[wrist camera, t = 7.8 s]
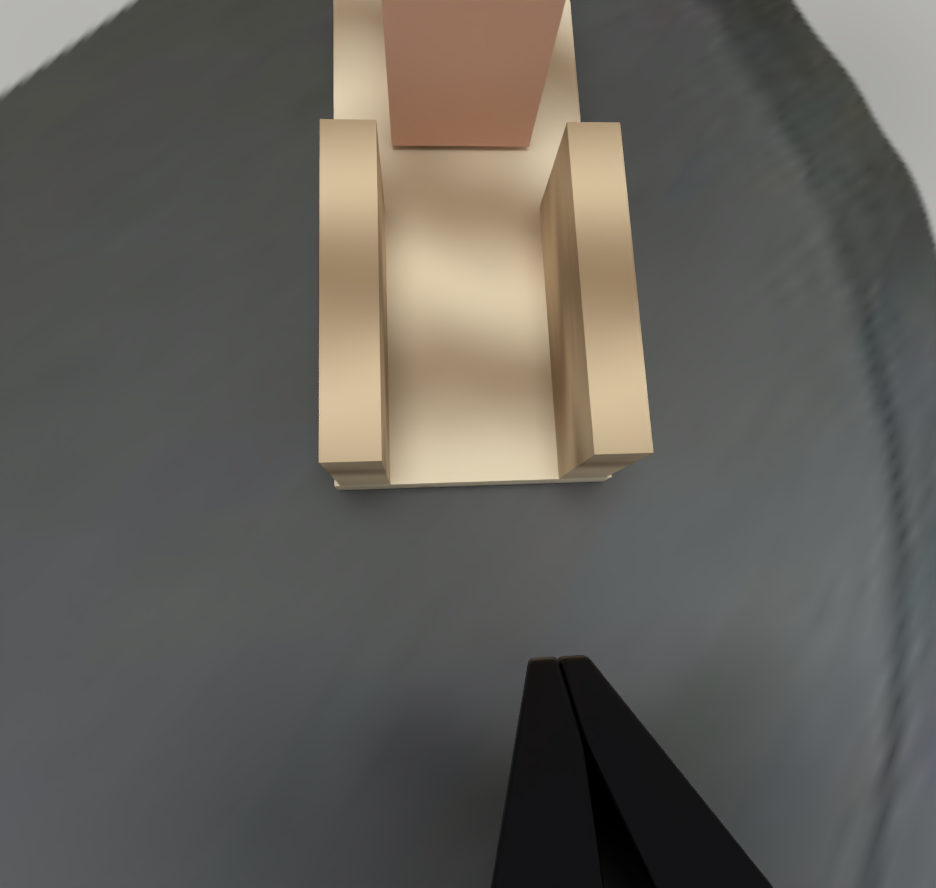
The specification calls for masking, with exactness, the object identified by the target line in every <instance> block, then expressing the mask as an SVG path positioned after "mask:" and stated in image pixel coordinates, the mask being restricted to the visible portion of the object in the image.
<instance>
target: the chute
mask: <svg viewBox="0 0 936 888" xmlns="http://www.w3.org/2000/svg"><path fill="white" fill-rule="evenodd" d="M652 453H653V445H652V435H651V425H650V415H649V405H648V395H647V385H646V376H645V366H644V356H643V346H642V336H641V326H640V316H639V306H638V296H637V287H636V277H635V267H634V257H633V247H632V237H631V227H630V217H629V207H628V197H627V188H626V178H625V168H624V158H623V148H622V138H621V128H620V123H615V122H580V110H579V99H578V87H577V76H576V64H575V53H574V42H573V30H572V19H571V7H570V0H566V1H565V5H564V9H563V13H562V17H561V21H560V25H559V29H558V33H557V37H556V41H555V45H554V49H553V53H552V57H551V61H550V65H549V69H548V73H547V77H546V81H545V85H544V89H543V93H542V97H541V101H540V105H539V109H538V113H537V117H536V121H535V125H534V129H533V133H532V136H531V140H530V144H529V147H507V146H392V142H391V128H390V113H389V99H388V85H387V71H386V57H385V43H384V28H383V14H382V0H334V119H320V249H319V463H320V464H321V466H322V467H323V468H324V469H325V470H326V471H327V472H328V473H329V474H330V475H331V476H332V477H333V478H334V483H335V487H336V488H337V489H338V490H358V489H388V488H418V487H448V486H479V485H509V484H539V483H569V482H599V481H605V480H607V479H609V478H611V477H612V476H611V474H613V473H615V472H617V471H619V470H621V469H623V468H625V467H627V466H629V465H631V464H633V463H634V462H636V461H638V460H640V459H642V458H644V457H646V456H648V455H650V454H652Z"/></svg>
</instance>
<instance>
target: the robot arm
mask: <svg viewBox="0 0 936 888" xmlns="http://www.w3.org/2000/svg"><path fill="white" fill-rule="evenodd" d="M491 888H773V887H772V885H771V884H770V882H769V881H768V880H767V879H766V877H765V876H764V875H763V874H762V872H761V871H760V870H759V869H758V868H757V866H756V865H755V864H754V863H753V861H752V860H751V859H750V858H749V856H748V855H747V854H746V853H745V851H744V850H743V849H742V848H741V846H740V845H739V844H738V843H737V841H736V840H735V839H734V838H733V836H732V835H731V834H730V833H729V831H728V830H727V829H726V828H725V826H724V825H723V824H722V823H721V821H720V820H719V819H718V818H717V817H716V815H715V814H714V813H713V812H712V810H711V809H710V808H709V807H708V805H707V804H706V803H705V802H704V800H703V799H702V798H701V797H700V795H699V794H698V793H697V792H696V790H695V789H694V788H693V787H692V785H691V784H690V783H689V782H688V780H687V779H686V778H685V777H684V775H683V774H682V773H681V772H680V770H679V769H678V768H677V767H676V765H675V764H674V763H673V762H672V761H671V759H670V758H669V757H668V756H667V754H666V753H665V752H664V751H663V749H662V748H661V747H660V746H659V744H658V743H657V742H656V741H655V739H654V738H653V737H652V736H651V734H650V733H649V732H648V731H647V729H646V728H645V727H644V726H643V724H642V723H641V722H640V721H639V719H638V718H637V717H636V716H635V714H634V713H633V712H632V711H631V710H630V708H629V707H628V706H627V705H626V703H625V702H624V701H623V700H622V698H621V697H620V696H619V695H618V693H617V692H616V691H615V690H614V688H613V687H612V686H611V685H610V683H609V682H608V681H607V680H606V678H605V677H604V676H603V675H602V673H601V672H600V671H599V670H598V668H597V667H596V666H595V665H594V663H593V662H592V661H591V660H590V659H589V658H588V657H586V656H584V655H575V656H562V657H560V658H559V659H558V660H557V659H556V658H555V657H538V658H531V659H530V660H529V661H528V666H527V672H526V678H525V684H524V690H523V696H522V702H521V708H520V714H519V720H518V726H517V732H516V738H515V744H514V750H513V756H512V762H511V768H510V774H509V780H508V786H507V792H506V798H505V804H504V810H503V816H502V822H501V829H500V835H499V841H498V847H497V853H496V859H495V865H494V871H493V877H492V883H491Z"/></svg>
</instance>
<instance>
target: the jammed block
mask: <svg viewBox="0 0 936 888" xmlns="http://www.w3.org/2000/svg"><path fill="white" fill-rule="evenodd" d="M565 1H566V0H382V14H383V28H384V43H385V57H386V71H387V85H388V99H389V113H390V128H391V142H392V146H507V147H529V144H530V140H531V136H532V133H533V129H534V125H535V121H536V117H537V113H538V109H539V105H540V101H541V97H542V93H543V89H544V85H545V81H546V77H547V73H548V69H549V65H550V61H551V57H552V53H553V49H554V45H555V41H556V37H557V33H558V29H559V25H560V21H561V17H562V13H563V9H564V5H565Z"/></svg>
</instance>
